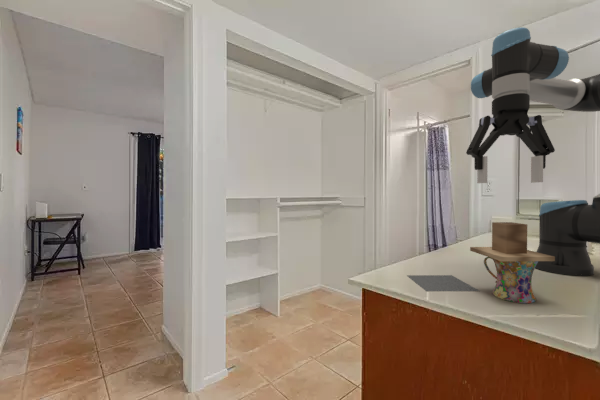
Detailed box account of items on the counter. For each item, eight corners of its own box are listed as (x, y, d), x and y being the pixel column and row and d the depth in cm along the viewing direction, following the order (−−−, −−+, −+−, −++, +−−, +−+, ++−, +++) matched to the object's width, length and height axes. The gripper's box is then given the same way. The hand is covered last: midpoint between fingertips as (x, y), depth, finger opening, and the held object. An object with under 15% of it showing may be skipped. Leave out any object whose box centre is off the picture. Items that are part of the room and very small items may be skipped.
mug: (547, 303, 67) (547, 258, 66) (522, 309, 63) (523, 262, 63) (495, 287, 78) (496, 249, 78) (472, 292, 74) (472, 252, 74)
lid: (514, 250, 76) (515, 220, 76) (554, 261, 64) (555, 226, 64) (470, 250, 76) (470, 221, 76) (501, 261, 64) (502, 226, 64)
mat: (451, 277, 88) (451, 275, 88) (480, 293, 74) (480, 290, 74) (406, 277, 88) (406, 275, 88) (426, 293, 74) (426, 291, 74)
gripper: (547, 101, 74) (546, 182, 74) (451, 102, 74) (451, 183, 74) (575, 90, 66) (574, 181, 67) (468, 92, 66) (468, 182, 67)
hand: (509, 182), depth 71 cm, fingers open, 13 cm apart
